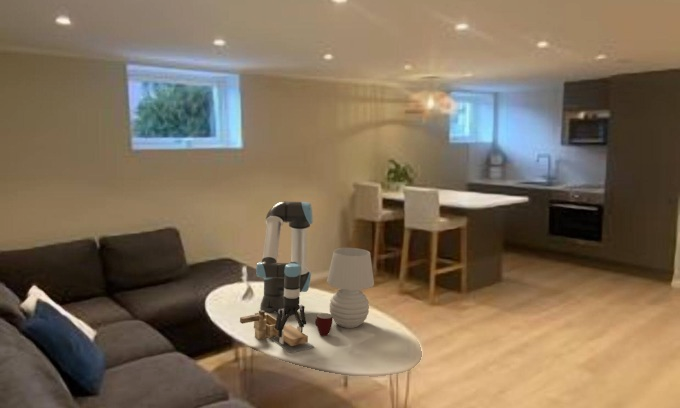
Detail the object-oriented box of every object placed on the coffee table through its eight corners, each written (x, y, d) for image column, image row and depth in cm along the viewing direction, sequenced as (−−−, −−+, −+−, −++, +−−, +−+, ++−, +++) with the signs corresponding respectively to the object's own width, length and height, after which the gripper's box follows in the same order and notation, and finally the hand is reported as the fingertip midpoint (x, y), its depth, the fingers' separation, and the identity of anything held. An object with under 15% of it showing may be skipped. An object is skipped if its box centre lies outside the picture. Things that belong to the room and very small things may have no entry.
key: (262, 317, 255) (262, 310, 255) (264, 319, 253) (264, 311, 253) (240, 322, 248) (240, 314, 248) (242, 323, 246) (242, 315, 246)
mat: (293, 333, 262) (293, 332, 261) (314, 347, 246) (314, 346, 245) (270, 338, 254) (270, 337, 254) (290, 353, 238) (290, 352, 238)
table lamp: (378, 321, 284) (382, 250, 278) (361, 336, 261) (365, 260, 255) (337, 313, 294) (340, 244, 289) (316, 327, 271) (319, 253, 266)
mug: (309, 333, 263) (309, 314, 261) (319, 329, 269) (320, 310, 267) (324, 339, 256) (325, 319, 255) (335, 334, 262) (335, 315, 261)
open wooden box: (267, 324, 272) (268, 302, 270) (282, 334, 259) (283, 312, 257) (244, 329, 264) (245, 306, 263) (259, 340, 251) (259, 316, 250)
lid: (289, 330, 258) (289, 324, 258) (307, 342, 245) (307, 336, 244) (273, 333, 253) (273, 328, 253) (291, 346, 239) (291, 339, 239)
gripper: (306, 290, 255) (305, 334, 258) (267, 297, 243) (266, 342, 246) (315, 295, 249) (313, 339, 252) (275, 302, 237) (274, 348, 240)
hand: (290, 341), depth 249 cm, fingers closed on lid, 9 cm apart
